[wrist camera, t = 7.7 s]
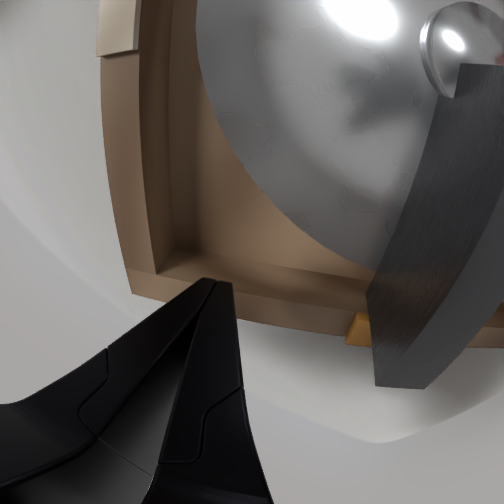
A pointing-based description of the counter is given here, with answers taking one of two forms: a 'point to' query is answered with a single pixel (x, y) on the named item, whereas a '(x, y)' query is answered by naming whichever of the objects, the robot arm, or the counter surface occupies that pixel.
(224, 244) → the wooden tray
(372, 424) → the counter surface
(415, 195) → the dial
